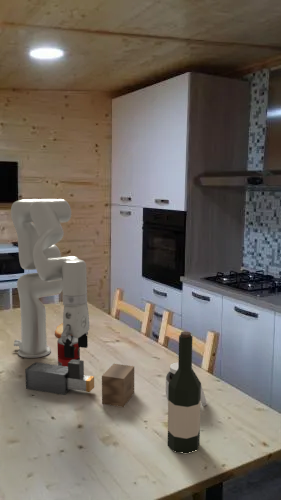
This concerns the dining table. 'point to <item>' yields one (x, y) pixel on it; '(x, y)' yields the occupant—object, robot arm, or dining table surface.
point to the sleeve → (47, 378)
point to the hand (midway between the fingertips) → (76, 352)
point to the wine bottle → (184, 401)
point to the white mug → (170, 375)
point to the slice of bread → (59, 330)
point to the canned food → (61, 359)
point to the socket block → (118, 385)
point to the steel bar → (78, 377)
